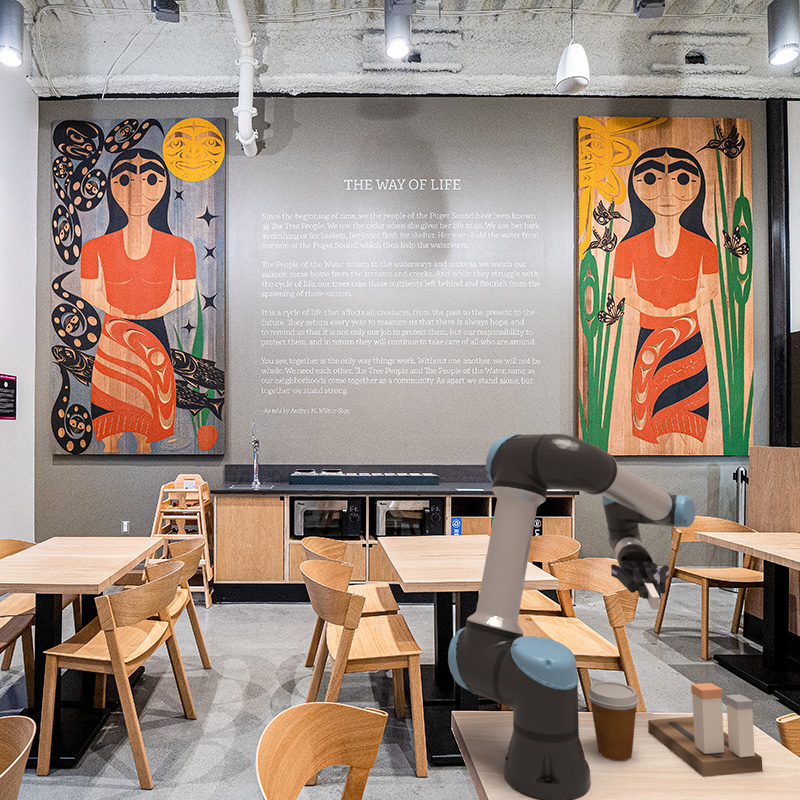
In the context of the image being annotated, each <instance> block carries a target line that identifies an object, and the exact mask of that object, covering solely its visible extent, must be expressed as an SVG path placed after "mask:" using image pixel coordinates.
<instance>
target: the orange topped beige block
mask: <svg viewBox="0 0 800 800" xmlns="http://www.w3.org/2000/svg"><path fill="white" fill-rule="evenodd" d="M690 686H691V688H690V690H691V691H690V692H691V695H692V696H691V697H692V714H693V715H692V717H693V719H694V741H695V747H696V748H698V749H699V750H700V751H702V752H703V753H704V754H709V753H721V752H724V735H723V732H724V719H723V718H724V717H723V716H724V715H723V689H722V687H719V686H717V685H716V684H713V683H712V682H705V683H691V684H690Z"/></svg>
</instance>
